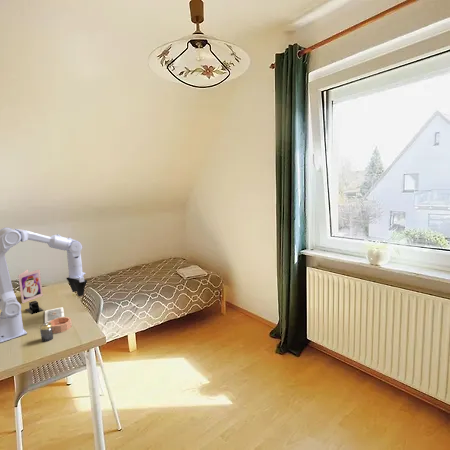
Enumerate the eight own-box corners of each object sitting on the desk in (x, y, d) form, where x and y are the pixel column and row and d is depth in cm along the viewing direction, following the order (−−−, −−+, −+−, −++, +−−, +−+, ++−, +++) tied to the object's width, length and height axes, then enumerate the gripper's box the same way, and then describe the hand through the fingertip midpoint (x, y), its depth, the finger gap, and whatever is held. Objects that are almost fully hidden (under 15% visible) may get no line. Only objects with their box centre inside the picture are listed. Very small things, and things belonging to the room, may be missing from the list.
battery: (43, 342, 123) (41, 327, 122) (40, 339, 126) (38, 324, 125) (54, 338, 126) (52, 323, 125) (51, 335, 129) (49, 320, 128)
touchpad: (45, 325, 139) (44, 320, 138) (45, 312, 152) (44, 308, 151) (64, 320, 143) (64, 316, 142) (63, 309, 156) (62, 305, 155)
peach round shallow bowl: (53, 335, 129) (52, 328, 128) (45, 328, 135) (44, 322, 134) (74, 327, 135) (74, 320, 135) (66, 321, 141) (66, 315, 140)
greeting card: (23, 303, 163) (19, 275, 160) (14, 301, 166) (10, 274, 163) (43, 295, 173) (40, 269, 171) (34, 294, 176) (31, 268, 174)
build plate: (22, 310, 156) (21, 301, 155) (38, 305, 161) (37, 296, 160) (30, 317, 148) (29, 308, 147) (47, 312, 153) (46, 303, 152)
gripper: (89, 266, 143) (92, 295, 145) (78, 260, 153) (81, 287, 155) (73, 269, 138) (76, 299, 140) (62, 263, 148) (65, 291, 150)
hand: (77, 293), depth 147 cm, fingers open, 7 cm apart
